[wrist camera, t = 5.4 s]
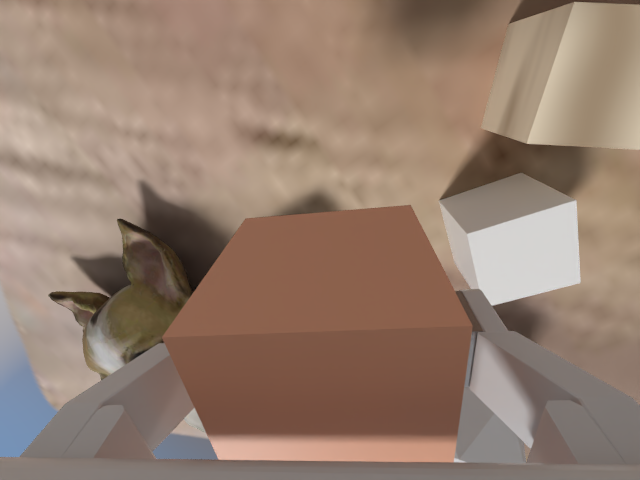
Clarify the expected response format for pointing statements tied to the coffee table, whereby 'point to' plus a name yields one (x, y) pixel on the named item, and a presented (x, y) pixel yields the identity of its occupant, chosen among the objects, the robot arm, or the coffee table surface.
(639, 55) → the birch cube
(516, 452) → the die
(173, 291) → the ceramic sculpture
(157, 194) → the coffee table surface
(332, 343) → the terracotta cube
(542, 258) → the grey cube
